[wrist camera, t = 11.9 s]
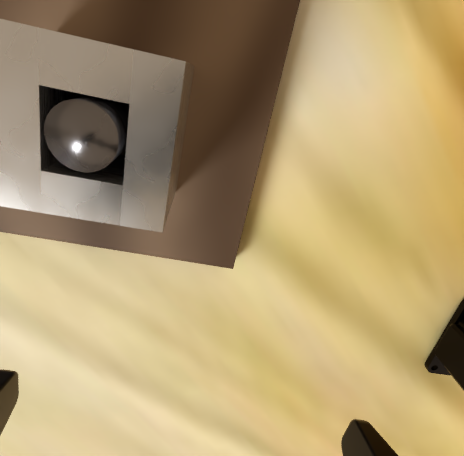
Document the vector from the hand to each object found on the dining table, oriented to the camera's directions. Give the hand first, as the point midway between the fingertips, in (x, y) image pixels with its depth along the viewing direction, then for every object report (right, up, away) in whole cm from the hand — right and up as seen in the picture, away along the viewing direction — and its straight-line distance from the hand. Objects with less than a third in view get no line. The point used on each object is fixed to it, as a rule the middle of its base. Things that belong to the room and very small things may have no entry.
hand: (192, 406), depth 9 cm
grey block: (-4, +10, +7) cm, 13 cm away
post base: (-4, +10, +8) cm, 14 cm away
